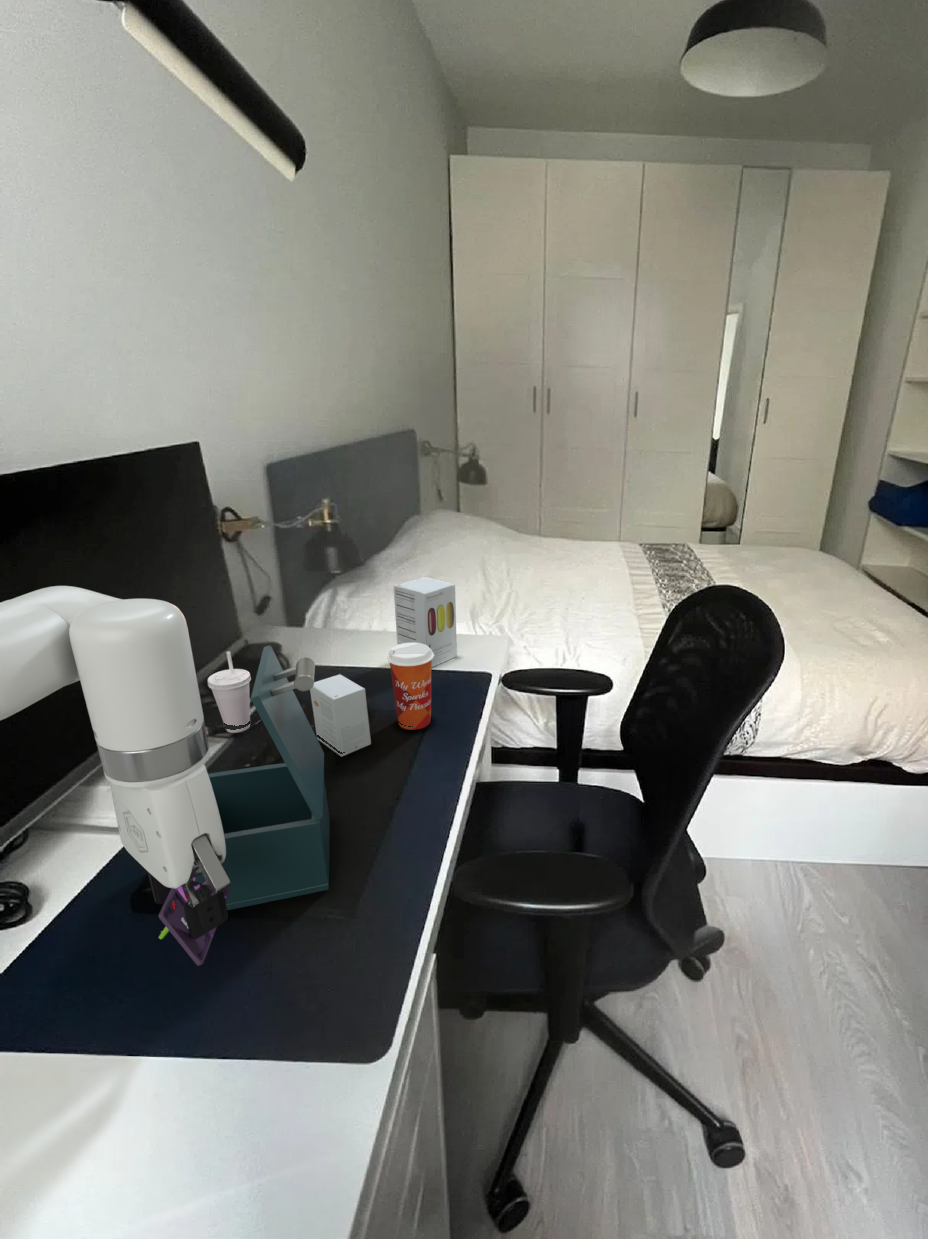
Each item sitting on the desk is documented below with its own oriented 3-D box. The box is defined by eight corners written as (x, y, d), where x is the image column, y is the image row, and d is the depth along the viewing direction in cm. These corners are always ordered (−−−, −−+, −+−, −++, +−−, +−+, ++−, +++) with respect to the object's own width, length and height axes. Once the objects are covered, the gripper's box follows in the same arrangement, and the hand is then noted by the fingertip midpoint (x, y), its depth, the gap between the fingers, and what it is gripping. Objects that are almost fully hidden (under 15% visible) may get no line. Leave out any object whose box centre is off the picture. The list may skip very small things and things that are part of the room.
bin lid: (250, 698, 63) (303, 680, 64) (263, 647, 75) (308, 632, 76) (315, 820, 71) (362, 802, 72) (318, 755, 83) (358, 741, 84)
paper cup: (396, 736, 107) (390, 661, 102) (389, 715, 114) (383, 644, 109) (441, 728, 110) (438, 655, 105) (432, 708, 117) (428, 638, 112)
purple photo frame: (170, 911, 54) (203, 841, 62) (109, 933, 53) (150, 859, 61) (210, 962, 57) (237, 888, 65) (152, 983, 56) (186, 906, 64)
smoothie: (261, 730, 107) (249, 655, 102) (219, 740, 104) (204, 663, 99) (255, 714, 112) (242, 642, 107) (214, 723, 109) (199, 649, 104)
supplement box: (427, 670, 132) (423, 594, 126) (396, 659, 137) (391, 585, 130) (458, 656, 140) (456, 583, 133) (428, 646, 144) (424, 575, 138)
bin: (177, 921, 70) (158, 849, 66) (200, 840, 82) (185, 776, 78) (329, 890, 75) (319, 822, 71) (329, 818, 87) (321, 757, 83)
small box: (371, 745, 104) (366, 688, 100) (340, 758, 101) (333, 699, 97) (346, 727, 109) (340, 672, 105) (316, 739, 105) (308, 683, 101)
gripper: (60, 729, 54) (105, 892, 61) (157, 810, 45) (198, 989, 52) (154, 699, 60) (186, 850, 67) (257, 765, 51) (281, 931, 58)
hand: (191, 909), depth 59 cm, fingers closed on purple photo frame, 5 cm apart
